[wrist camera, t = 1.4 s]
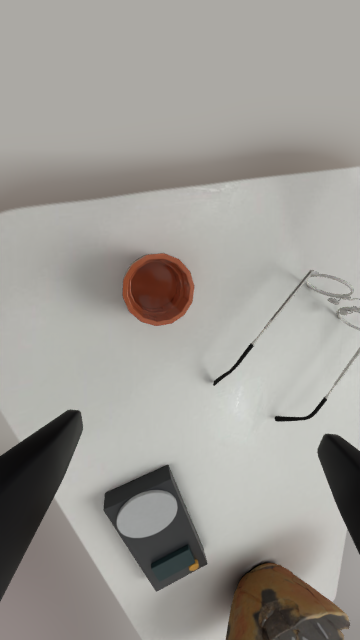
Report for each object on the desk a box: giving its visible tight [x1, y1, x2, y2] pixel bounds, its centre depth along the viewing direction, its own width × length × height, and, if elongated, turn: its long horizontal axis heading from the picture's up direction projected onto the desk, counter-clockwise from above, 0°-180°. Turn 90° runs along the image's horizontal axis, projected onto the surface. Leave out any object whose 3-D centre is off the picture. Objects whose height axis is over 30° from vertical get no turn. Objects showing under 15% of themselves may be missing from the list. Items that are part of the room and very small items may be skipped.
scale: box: [104, 465, 207, 592], centre depth 30 cm, size 22×9×3 cm, turn 16°
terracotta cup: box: [123, 253, 194, 326], centre depth 19 cm, size 6×6×4 cm
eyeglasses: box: [213, 270, 360, 422], centre depth 26 cm, size 16×19×5 cm
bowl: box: [226, 563, 350, 640], centre depth 39 cm, size 25×25×10 cm
